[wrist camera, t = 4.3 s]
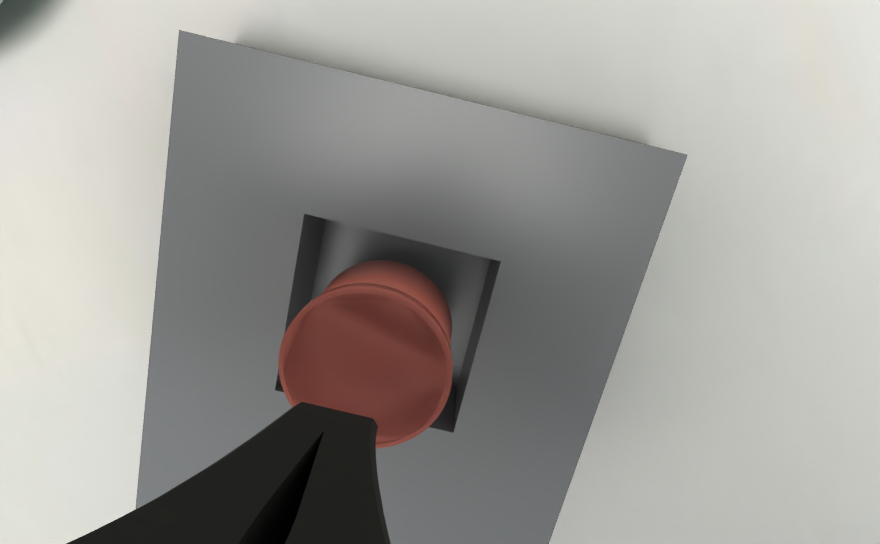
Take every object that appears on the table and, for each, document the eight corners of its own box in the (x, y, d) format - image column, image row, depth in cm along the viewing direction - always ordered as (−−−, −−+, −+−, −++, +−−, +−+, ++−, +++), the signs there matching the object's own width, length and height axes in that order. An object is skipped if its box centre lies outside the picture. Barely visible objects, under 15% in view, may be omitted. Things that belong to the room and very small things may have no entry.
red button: (471, 275, 14) (471, 312, 12) (437, 405, 15) (430, 465, 13) (325, 240, 14) (292, 269, 11) (301, 372, 15) (266, 426, 13)
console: (233, 45, 16) (179, 30, 13) (647, 147, 16) (687, 154, 13) (159, 670, 22) (113, 753, 19) (449, 737, 22) (446, 829, 20)
